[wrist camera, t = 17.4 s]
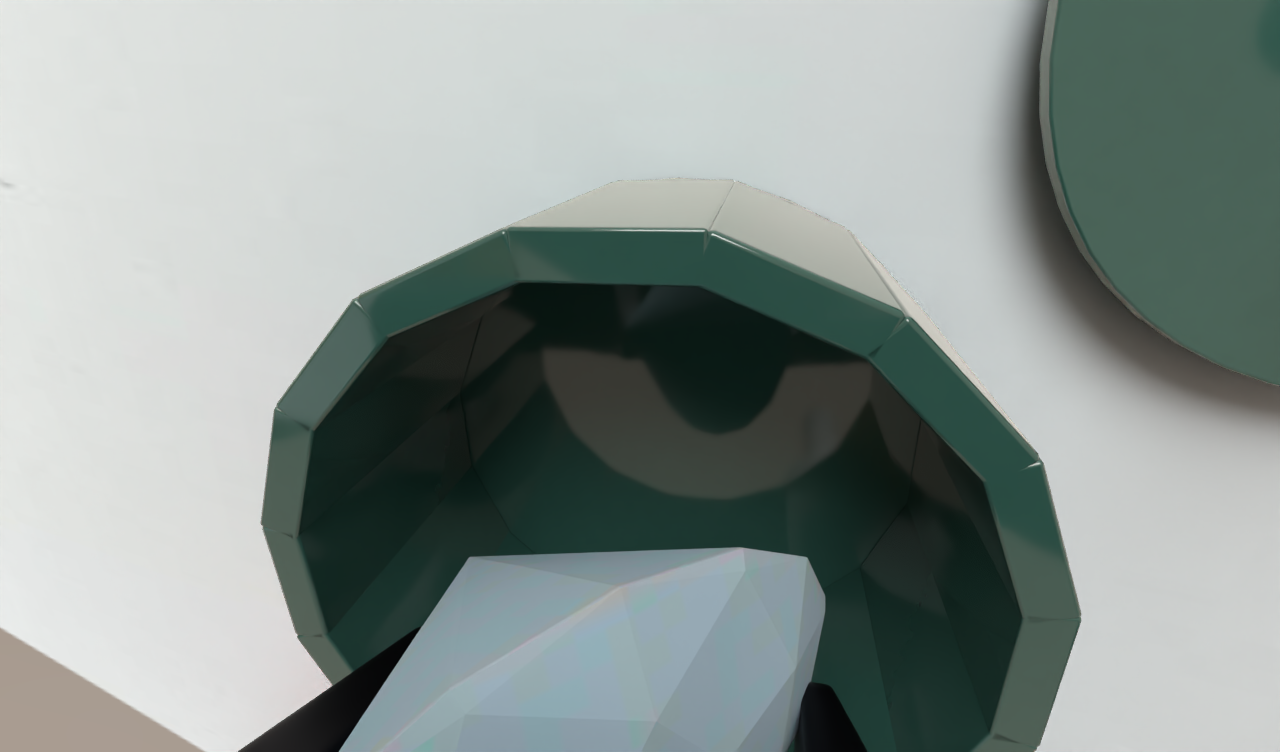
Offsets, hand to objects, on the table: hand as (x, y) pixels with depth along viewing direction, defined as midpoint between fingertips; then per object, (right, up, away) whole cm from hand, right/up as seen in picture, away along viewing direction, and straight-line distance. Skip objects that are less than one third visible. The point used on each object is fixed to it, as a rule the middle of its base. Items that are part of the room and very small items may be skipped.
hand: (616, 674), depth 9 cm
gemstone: (0, +1, +1) cm, 1 cm away
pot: (+1, +3, +7) cm, 7 cm away
